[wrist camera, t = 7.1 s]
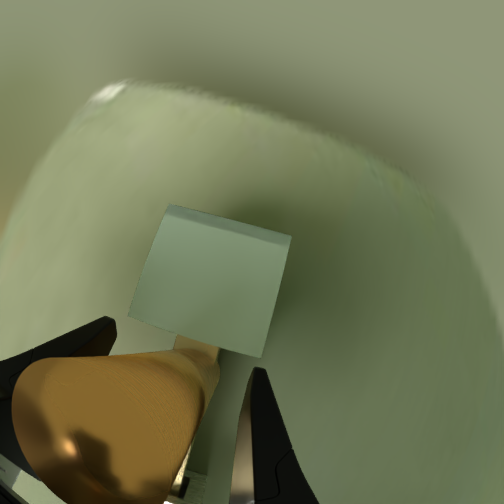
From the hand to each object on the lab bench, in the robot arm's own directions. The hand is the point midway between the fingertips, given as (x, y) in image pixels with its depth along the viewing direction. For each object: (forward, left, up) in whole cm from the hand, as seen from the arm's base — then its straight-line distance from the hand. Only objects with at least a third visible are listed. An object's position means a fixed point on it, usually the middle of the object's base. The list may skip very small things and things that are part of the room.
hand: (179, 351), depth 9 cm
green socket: (+2, -3, -8) cm, 8 cm away
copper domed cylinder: (-3, +4, -7) cm, 8 cm away
